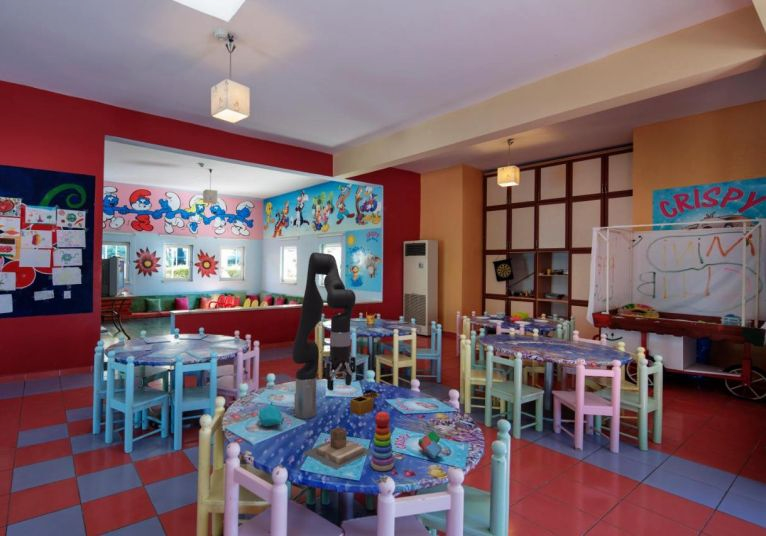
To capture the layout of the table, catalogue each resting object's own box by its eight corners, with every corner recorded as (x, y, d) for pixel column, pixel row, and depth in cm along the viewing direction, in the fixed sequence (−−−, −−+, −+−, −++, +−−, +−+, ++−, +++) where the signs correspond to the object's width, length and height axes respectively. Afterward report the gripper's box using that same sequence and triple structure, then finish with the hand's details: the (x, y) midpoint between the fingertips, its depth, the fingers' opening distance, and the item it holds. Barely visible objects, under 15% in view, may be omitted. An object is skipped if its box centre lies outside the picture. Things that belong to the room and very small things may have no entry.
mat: (302, 454, 148) (302, 452, 148) (339, 438, 161) (339, 437, 161) (336, 471, 136) (336, 469, 136) (373, 453, 150) (373, 451, 150)
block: (330, 446, 149) (330, 430, 149) (338, 443, 152) (338, 426, 152) (338, 450, 146) (338, 433, 146) (346, 446, 149) (346, 429, 149)
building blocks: (432, 463, 152) (434, 457, 142) (417, 446, 156) (417, 439, 146) (447, 448, 155) (449, 440, 145) (431, 431, 159) (432, 423, 149)
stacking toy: (370, 461, 144) (370, 407, 143) (392, 460, 144) (393, 407, 144) (371, 472, 136) (372, 416, 136) (395, 471, 136) (396, 415, 136)
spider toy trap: (381, 407, 198) (381, 388, 198) (360, 415, 187) (360, 395, 187) (371, 404, 202) (371, 385, 202) (350, 412, 191) (350, 392, 191)
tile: (316, 447, 147) (339, 458, 140) (341, 437, 156) (363, 447, 149) (316, 453, 147) (339, 464, 140) (341, 443, 156) (363, 452, 149)
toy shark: (269, 418, 183) (269, 394, 182) (294, 429, 171) (294, 403, 171) (249, 424, 175) (249, 399, 175) (274, 436, 163) (274, 409, 163)
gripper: (347, 339, 158) (346, 381, 159) (318, 344, 148) (317, 389, 148) (361, 342, 153) (360, 385, 154) (332, 348, 143) (331, 394, 143)
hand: (339, 387), depth 151 cm, fingers open, 8 cm apart
